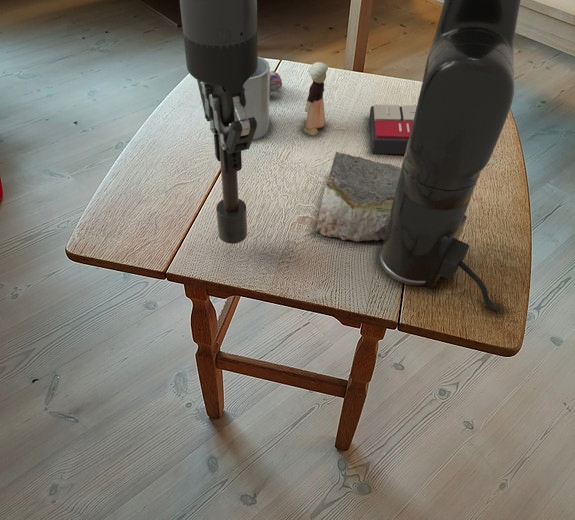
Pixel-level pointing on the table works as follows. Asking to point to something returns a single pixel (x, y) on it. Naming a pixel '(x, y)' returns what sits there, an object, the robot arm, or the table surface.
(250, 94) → the cup
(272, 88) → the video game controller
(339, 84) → the table surface
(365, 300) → the table surface
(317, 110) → the grandmother figurine
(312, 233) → the table surface
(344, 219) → the geological specimen
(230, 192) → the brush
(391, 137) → the black red box
